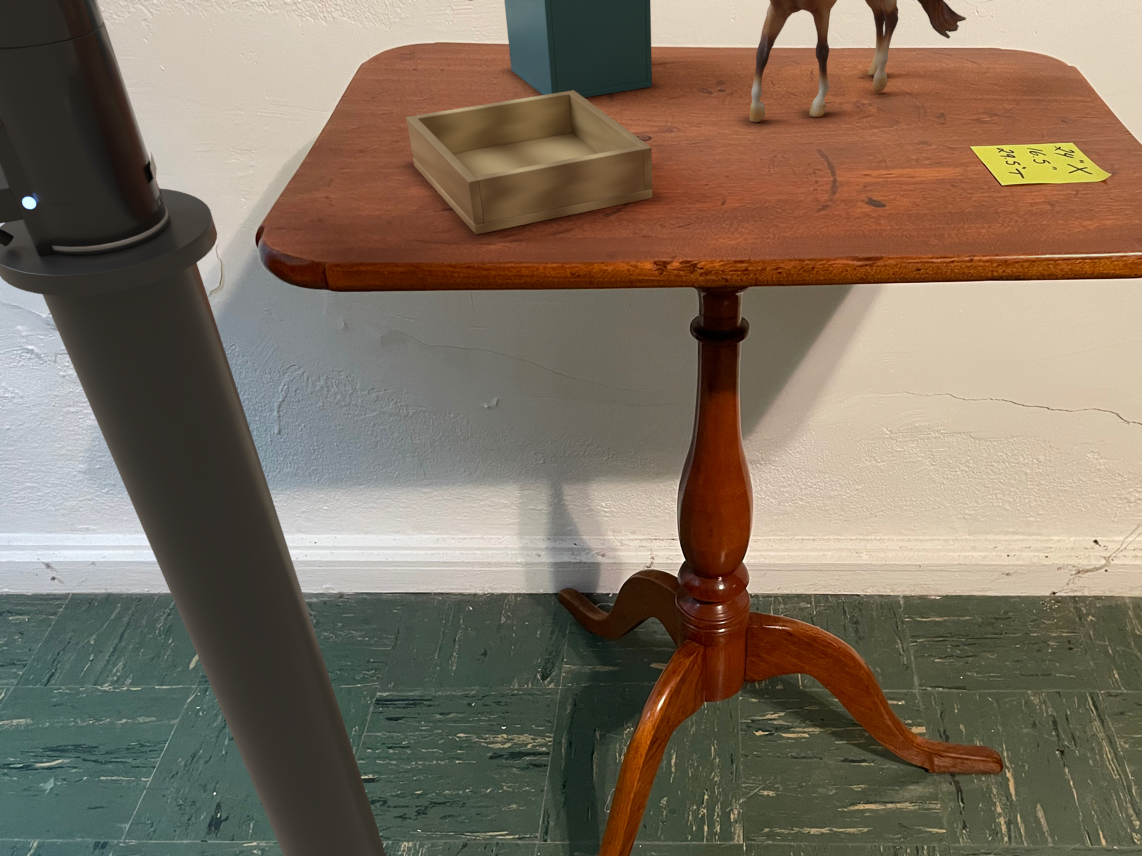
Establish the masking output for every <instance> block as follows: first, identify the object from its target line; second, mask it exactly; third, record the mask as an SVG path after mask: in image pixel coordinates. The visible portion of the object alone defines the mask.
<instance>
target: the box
mask: <svg viewBox="0 0 1142 856" xmlns="http://www.w3.org/2000/svg"><path fill="white" fill-rule="evenodd" d="M405 119H406V124H407V129H408V136H409V141H410V148H411V153H412V154H411V155H412V161H413V165H414V167H415V168H416V170H417V171H418V172H419V173H420V174H421V175H422V176H423V178H424V179H426V181H427V182H428V183H429V184H430V185H431V186H432V187H433V188H434V190H435V191H436V193H438V194H439V195H440V196H441V197H442V199H443V200H444V201H445V203H447V204H448V205H449V207H450V208H451V209H452V210H453V211H454V212H455V213H456V215H457V216H459V217H460V219H461V220H462V221H463V222H464V223H465V224H466V226H468V228H469V229H470V230H471V231H472V232H473V233H474V234H475V235H482V234H485V233H490V232H495V231H500V230H506V229H509V228H514V227H519V226H525V225H530V224H533V223H539V222H544V221H548V220H552V219H558V218H562V217H567V216H572V215H577V214H582V213H587V212H591V211H597V210H601V209H606V208H610V207H615V206H616V207H617V206H621V205H625V204H630V203H634V202H640V201H646V200H649V199H653V156H652V155H653V154H652V150H653V149H652V147H651V146H650V145H648V144H647V143H646V142H645V141H643V140H642V139H641V138H639V137H638V136H636V135H635V133H633V132H631V131H629V130H628V129H627V128H626V127H624V126H623V125H622V124H621V123H619V122H618V121H616V120H615V119H614V118H612V117H611V116H609V115H608V114H607V113H605V112H604V111H603V110H601V109H600V108H598V107H597V106H596V105H595V104H593V102H590V101H589V100H588V99H586V97H585V98H584V97H582V96H581V95H580V94H578V93H577V92H576V91H574V90H572V91H567V92H560V93H553V94H547V95H542V94H541V95H536V96H530V97H529V96H528V97H523V98H516V99H510V100H504V101H497V102H492V103H491V102H490V103H485V104H479V105H472V106H466V107H460V108H459V107H458V108H454V109H447V110H439V111H435V112H428V113H423V114H417V115H416V114H415V115H411V116H406V118H405Z"/></svg>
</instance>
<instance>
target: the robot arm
mask: <svg viewBox="0 0 1142 856" xmlns="http://www.w3.org/2000/svg"><path fill="white" fill-rule="evenodd" d="M100 7H101V6H100V4H99V2H98V0H0V224H4V223H6V222H12V221H18V220H23V222H24V224H25V227H26V229H27V232H28V234H29V236H30V239H31V241H32V243H33V246H34V248H35V251H36V253H37V255H38V256H39V257H43V256H48V255H56V254H57V255H69V256H85V255H97V254H105V253H110V252H116V251H120V250H124V249H127V248H131V247H134V246H137V245H139V244H142V243H144V242H146V241H149V240H151V239H152V238H154V237H156V236H157V235H159V234H160V233H162V232H163V231H164V230H165V229H166V228H167V226H168V225H169V223H170V216H169V213H168V210H167V207H166V205H165V204H164V202H163V197H162V194H161V191H160V189H161V188H160V187H159V183H158V180H157V165H156V162H155V159H154V156H153V153H152V151H151V152H150V156H149V154H148V150H147V148H146V144H145V141H144V139H143V135H142V132H141V130H140V126H139V123H138V121H137V117H136V114H135V110H134V107H133V104H132V102H131V98H130V96H129V93H128V90H127V86H126V83H125V81H124V77H123V74H122V71H121V68H120V66H119V63H118V62H119V61H118V59H117V57H116V53H115V50H114V47H113V44H112V41H111V37H110V35H109V32H108V28H107V26H106V23H105V20H104V16H103V14H102V10H101V8H100ZM13 238H14V236H13V235H11V234H10V233H8V232H6V231H4V230H2V229H0V244H2V245H4V246H5V247H6V246H7V245H9V244H10V243H11V241H12V240H13Z"/></svg>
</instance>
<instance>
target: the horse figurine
mask: <svg viewBox="0 0 1142 856" xmlns="http://www.w3.org/2000/svg"><path fill="white" fill-rule="evenodd" d="M837 1H838V0H769V6H768V7H767V10H766V16H765V18H764V22H763V25H762V29H761V35H760V41H759V43H758V46H757V50H756V55H755V72H754V77H753V82H752V87H751V104H750V105H749V106H750V107H749V114H748V115H749V121H750V122H753V123H758V122H761V121H762V120H763V119H764V118H765V115H766V107H765V103H764V102H762V100H761V97H762V95H763V90H762V84H763V75H764V72H765V68H766V66H767V64H768V61H769V59H770V54H771V50H772V49H773V47H774V45H775V43H776V40H777V38H778V37H779V35H780V33H781V31H782V30H783V28H784V26H785V24H786V22H787V20H788V19H789V17H791V15H793V14H795V13H798V12H800V11H805V12H808V13H810V14H811V15H812V18H813V23H814V25H815V30H816V37H817V41H816V45H815V57H816V60H817V62H818V74H819V75H818V91H817V92H818V93H817V95H816V96H815V98H814V99H813V101H812V102H811V106H810V108H809V113H808V115H809V116H810V117H812V118H820V117H822V116H824V114H825V110H826V106H827V105H826V101H825V98H826V95H827V94H828V92H829V90H830V81H829V77H828V59H829V56H830V55H829V54H830V46H829V43H828V36H829V35H828V34H829V27H830V18H831V17H830V16H831V11H832V9H833V7H834V6H835V5H836V3H837ZM864 1H865V3H866V4H867V6H868V7H869V8H870V9H871V12H872V14H873V20H874V26H875V52H874V53H875V54H874V57H873V58H872V61H871V63H870V66H869V69H868V72H867V74H868V76H873V81H872V91H873V92H874V93H876V94H877V93H881V92H883V91H884V90H885V89H886V88H887V85H888V81H889V80H888V74H887V72H886V71H885V70H886V66H887V64H888V62H889V61H888V60H889V49H890V45H891V41H892V37H893V35H894V32H895V30H896V28H897V25H898V22H899V8H898V5H897V4H898V0H864ZM916 1H917V2H918V3H919V4H920V6H921V7H922V9H923V11H924V12H925V14H926V15H927V18H928V21H929V24H930V25H931V28H932V29H933V30H934V31H935V32H936V33H938V34H939V35H940V36H941V37H944V38H946V39H948V40H949V39H950V38H951V36H950V35H949V33H952V32H957V31H958V30H959V27H960V25H958V23H959V22H963V21H966V20H967V17H965V16H963V15H961V14H958V13H957V12H956V11H954V10H953V9H952V8H951V7H950V5H949V4H948V3H947V2H946V1H945V0H916ZM948 32H949V33H948Z"/></svg>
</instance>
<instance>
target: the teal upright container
mask: <svg viewBox="0 0 1142 856" xmlns="http://www.w3.org/2000/svg"><path fill="white" fill-rule="evenodd" d="M651 7H652V6H651V0H504V10H505V11H504V12H505V17H506V18H505V20H506V30H507V40H508V51H509V60H510V69H511V70H510V71H511V72H513V74H515V75H516V76H517V77H519V78H520V79H521V80H523V81H524V82H525V83H527V84H528V85H529V86H530V87H532V88H533V89H534V90H536V91H537V92H538V93H539V94H541V95H547V94H553V93H560V92H567V91H572V90H574V91H576V92H577V93H578V94H580V95H581V96H582V97H584V98H585V99H586V98H591V97H597V96H598V97H599V96H603V95H610V94H616V93H621V92H627V91H634V90H641V89H646V88H651V87H653V63H652V21H651V20H652V16H651V15H652V13H651V11H652V10H651Z"/></svg>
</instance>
